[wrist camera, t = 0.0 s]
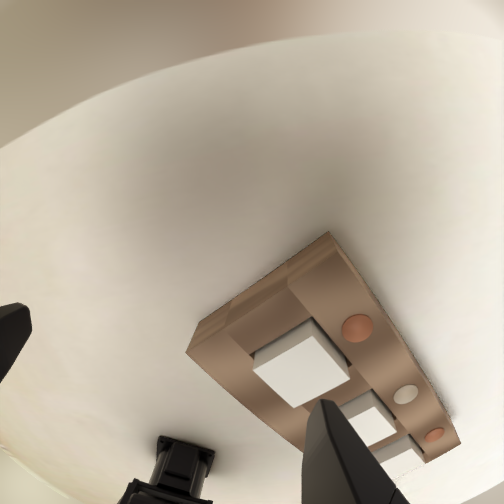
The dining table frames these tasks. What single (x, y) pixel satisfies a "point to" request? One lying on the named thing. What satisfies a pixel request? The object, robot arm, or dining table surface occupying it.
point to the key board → (344, 336)
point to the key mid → (369, 417)
